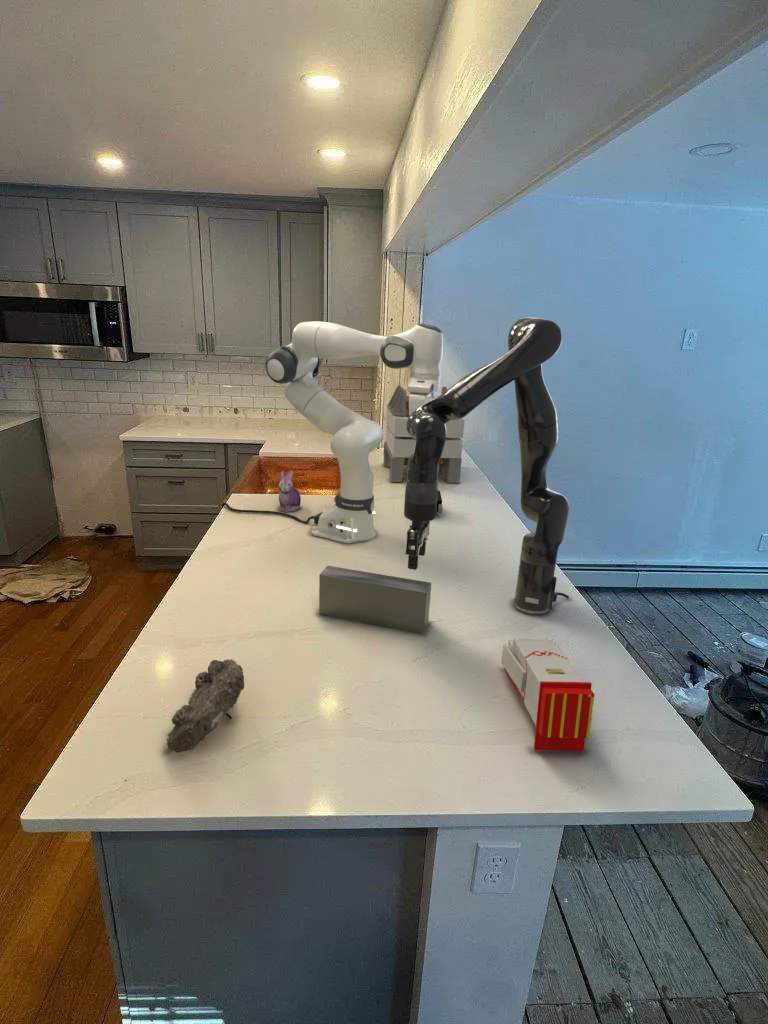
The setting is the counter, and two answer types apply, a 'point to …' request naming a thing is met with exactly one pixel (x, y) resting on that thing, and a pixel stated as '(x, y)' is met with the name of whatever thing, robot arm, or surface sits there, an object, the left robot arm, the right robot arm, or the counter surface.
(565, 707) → the toy
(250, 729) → the counter surface
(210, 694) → the fossil
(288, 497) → the figurine
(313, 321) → the left robot arm
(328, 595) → the box
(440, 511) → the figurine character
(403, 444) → the stacked crate on legs
